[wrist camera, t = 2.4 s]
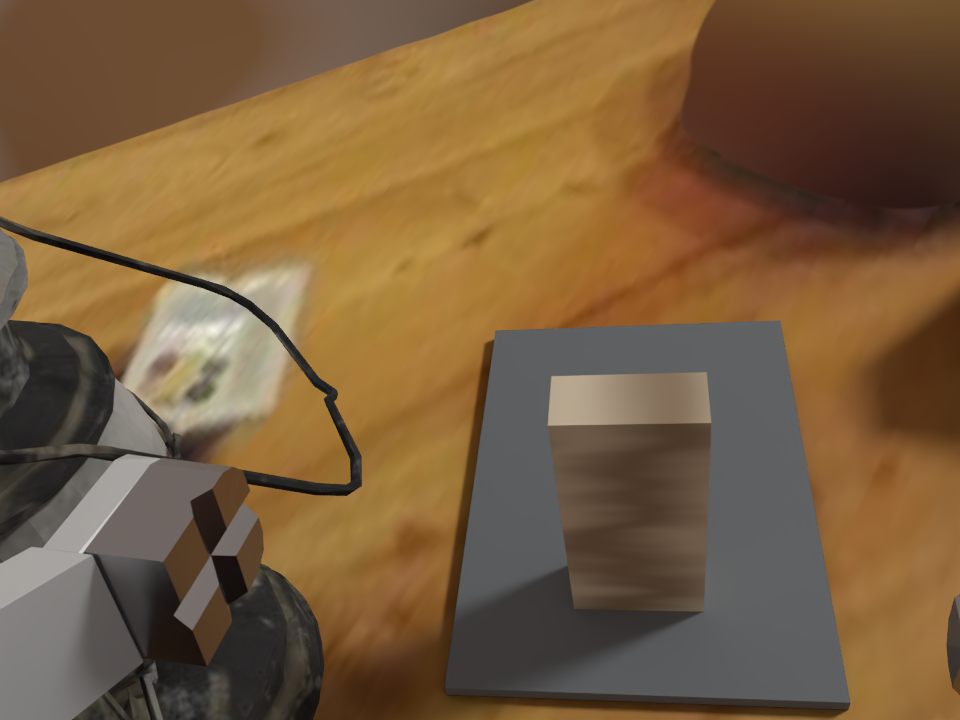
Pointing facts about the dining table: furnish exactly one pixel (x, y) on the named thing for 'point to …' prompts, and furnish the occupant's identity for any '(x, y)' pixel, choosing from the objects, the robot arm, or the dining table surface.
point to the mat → (729, 552)
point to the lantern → (128, 430)
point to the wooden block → (633, 487)
